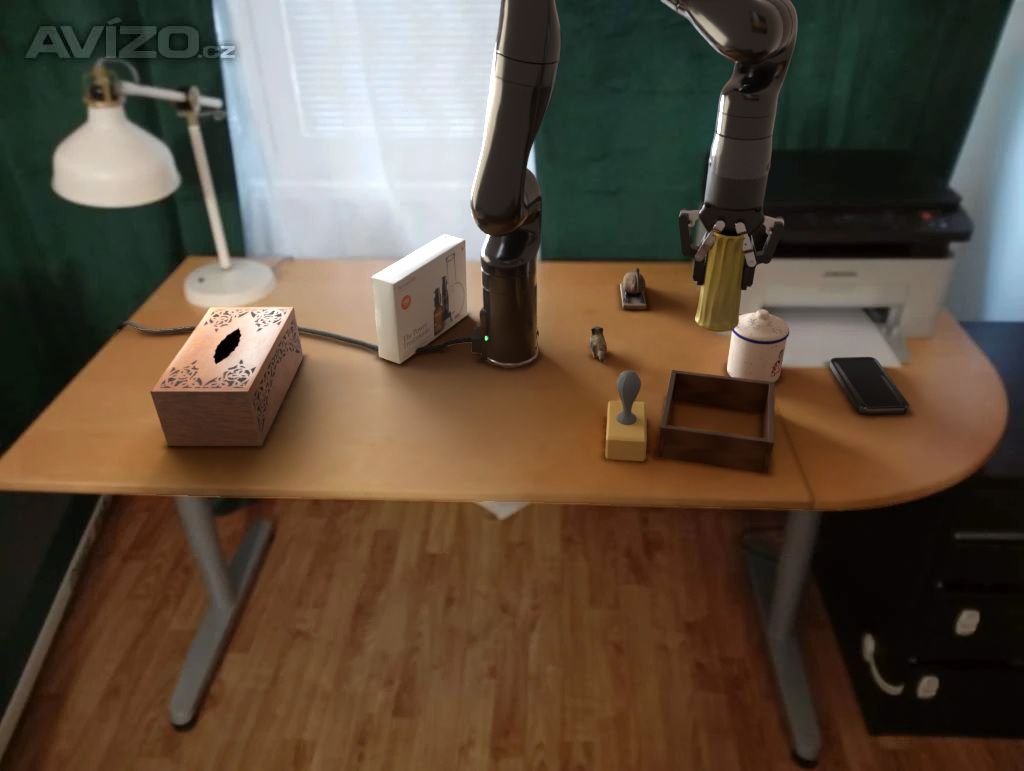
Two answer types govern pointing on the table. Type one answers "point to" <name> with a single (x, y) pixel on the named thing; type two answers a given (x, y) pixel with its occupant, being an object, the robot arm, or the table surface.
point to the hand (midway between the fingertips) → (721, 285)
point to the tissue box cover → (229, 377)
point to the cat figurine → (598, 343)
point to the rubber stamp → (626, 421)
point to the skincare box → (420, 297)
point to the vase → (722, 284)
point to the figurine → (633, 290)
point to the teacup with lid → (757, 346)
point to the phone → (868, 386)
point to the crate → (717, 444)
